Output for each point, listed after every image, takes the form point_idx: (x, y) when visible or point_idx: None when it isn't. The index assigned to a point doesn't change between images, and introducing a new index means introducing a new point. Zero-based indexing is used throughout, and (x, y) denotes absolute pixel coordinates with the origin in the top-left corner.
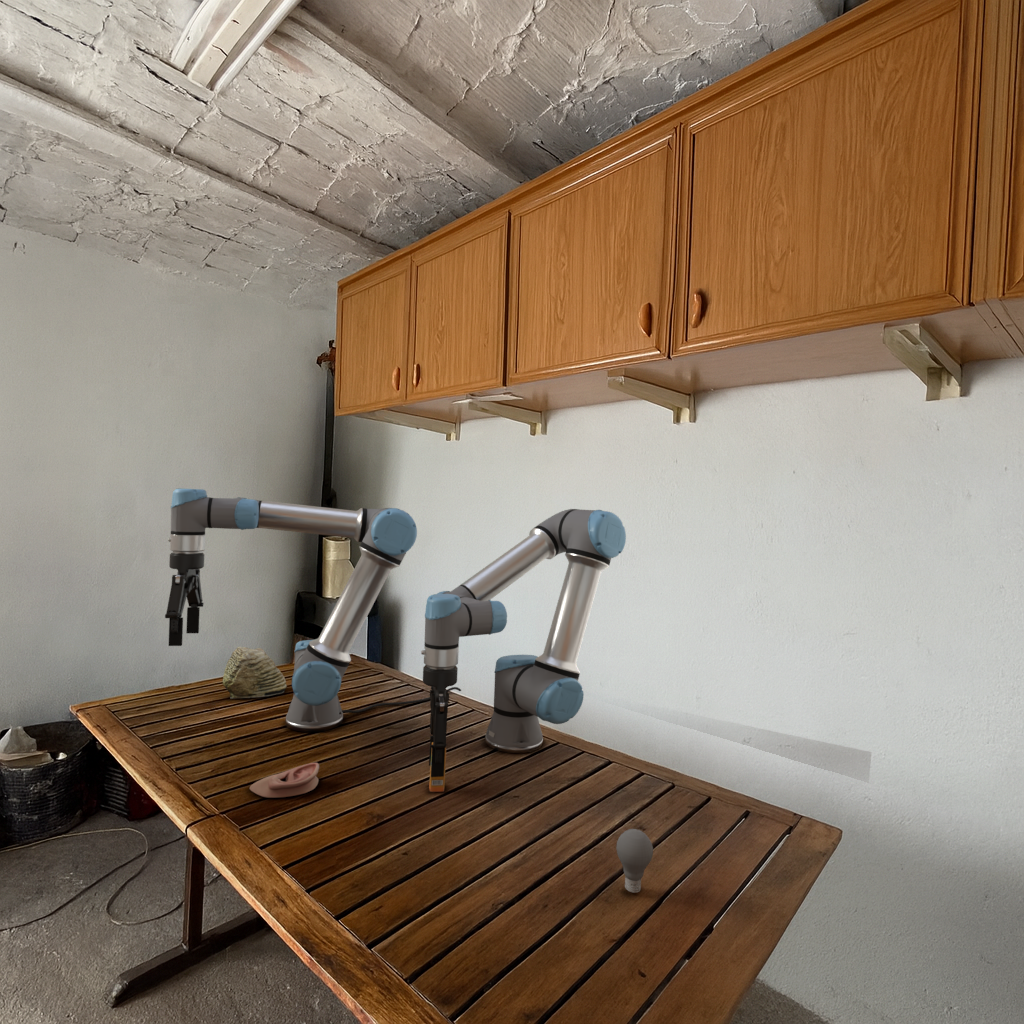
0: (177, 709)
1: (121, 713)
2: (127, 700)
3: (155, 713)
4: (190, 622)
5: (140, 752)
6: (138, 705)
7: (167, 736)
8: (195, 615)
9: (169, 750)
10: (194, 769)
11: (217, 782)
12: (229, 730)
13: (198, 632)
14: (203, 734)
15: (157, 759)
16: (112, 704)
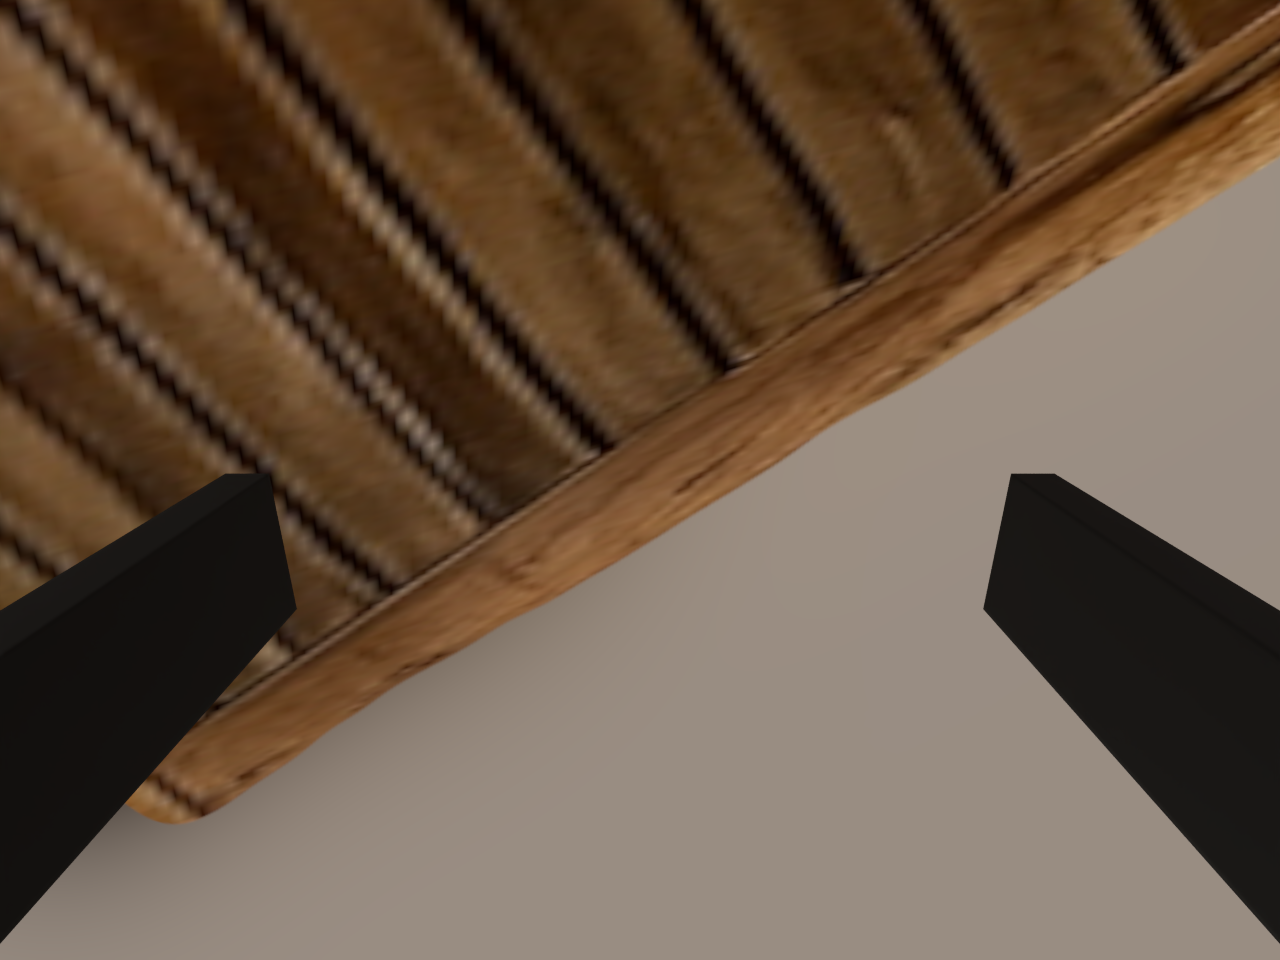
0: (137, 487)
1: None
2: None
3: None
4: (196, 658)
5: (653, 473)
6: None
7: (482, 426)
8: (77, 669)
9: (642, 370)
10: (868, 202)
11: (1036, 54)
12: (399, 158)
13: (236, 475)
14: (456, 276)
15: (734, 387)
16: None
